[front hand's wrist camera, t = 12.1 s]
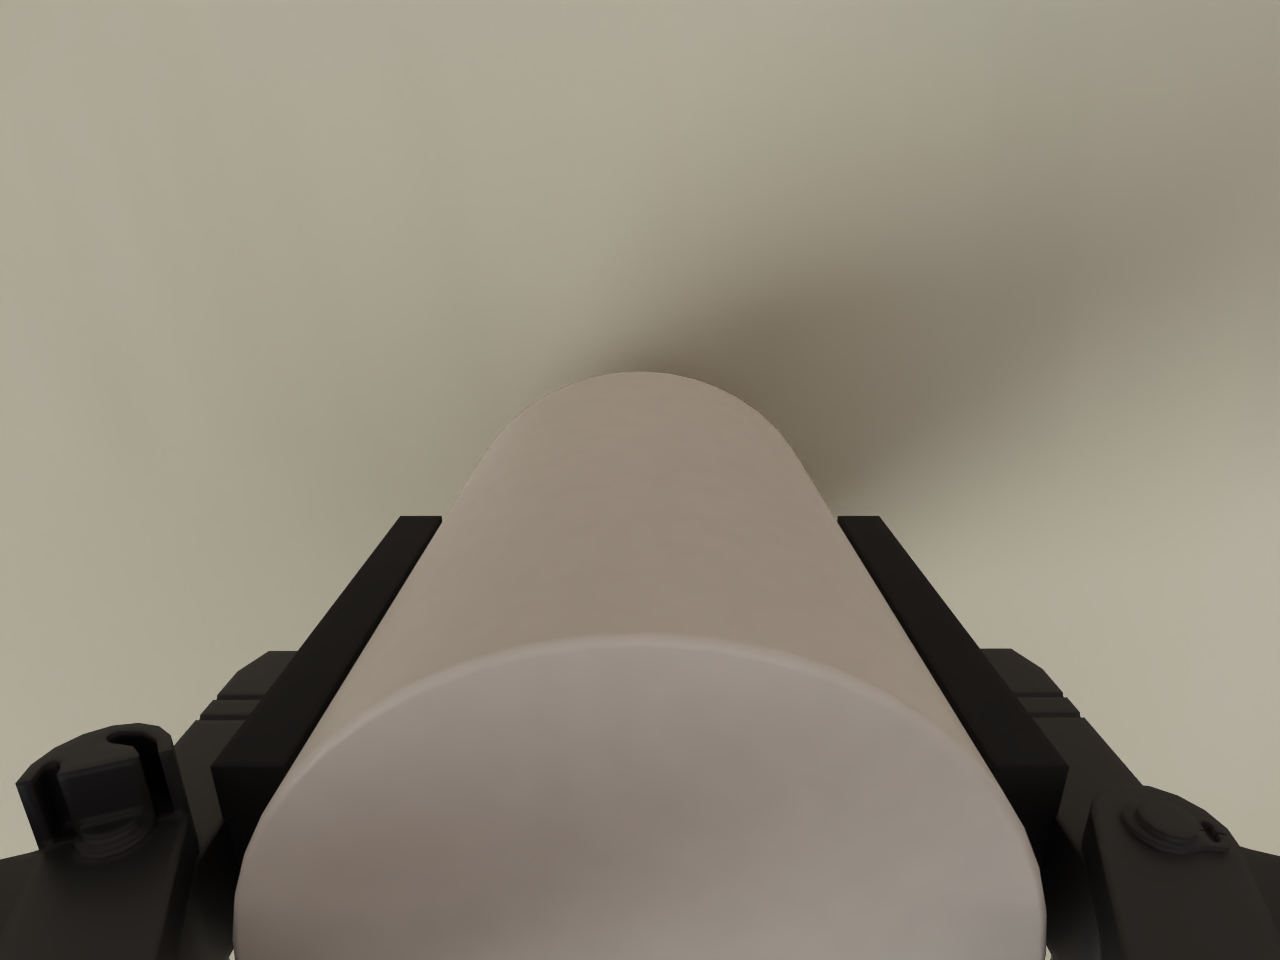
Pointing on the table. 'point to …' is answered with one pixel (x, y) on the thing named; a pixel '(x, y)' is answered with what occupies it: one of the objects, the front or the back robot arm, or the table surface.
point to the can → (639, 727)
